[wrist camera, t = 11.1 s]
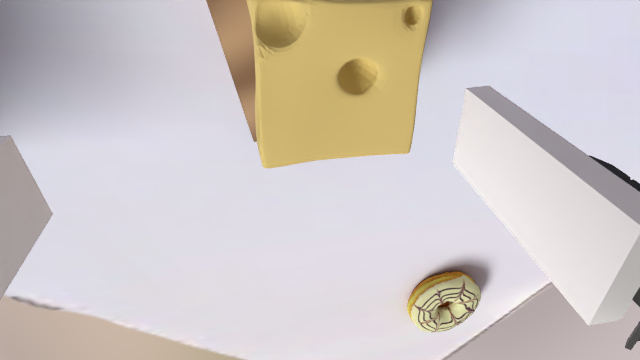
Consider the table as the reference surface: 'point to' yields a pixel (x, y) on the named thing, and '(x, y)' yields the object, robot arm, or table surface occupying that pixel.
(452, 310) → the decorated donut
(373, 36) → the cheese
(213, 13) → the walnut block
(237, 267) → the table surface
